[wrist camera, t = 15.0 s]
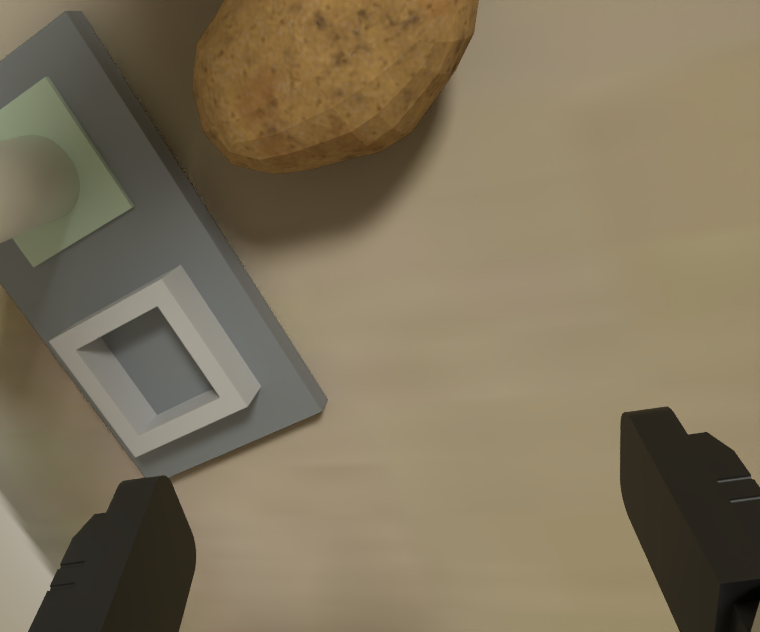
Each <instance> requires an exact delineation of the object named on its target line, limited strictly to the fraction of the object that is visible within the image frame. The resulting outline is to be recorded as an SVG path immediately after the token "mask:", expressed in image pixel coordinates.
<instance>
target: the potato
mask: <svg viewBox="0 0 760 632" xmlns="http://www.w3.org/2000/svg"><path fill="white" fill-rule="evenodd" d="M478 1H479V0H224V2H223V3H222V5H221V7H220V9H219V10H218V12H217V14H216V16H215V17H214V19H213V20H212V22H211V23H210V25H209V26H208V28H207V29H206V31H205V32H204V34H203V35H202V37H201V38H200V40H199V41H198V43H197V44H196V54H195V64H194V75H193V85H192V87H193V94H194V97H195V101H196V105H197V109H198V113H199V116H200V120H201V124H202V128H203V132H204V133H205V134H206V136H207V137H208V138H209V139H210V140H211V141H212V142H213V143H214V145H215V146H216V147H217V148H218V149H219V150H220V151H221V153H222V154H223V155H224V156H225V157H226V158H227V159H228V160H229V162H230V163H232V164H234V165H237V166H241V167H245V168H250V169H254V170H258V171H263V172H267V173H272V174H282V173H289V172H297V171H304V170H311V169H315V168H319V167H322V166H326V165H330V164H333V163H337V162H341V161H344V160H348V159H352V158H355V157H359V156H363V155H368V154H372V153H377V152H380V151H382V150H384V149H386V148H387V147H389V146H390V145H392V144H393V143H395V142H397V141H398V140H400V139H401V138H403V137H404V136H406V135H407V134H409V133H411V132H412V131H413V129H414V128H415V127H416V125H417V124H418V122H419V121H420V120H421V118H422V117H423V115H424V114H425V113H426V111H427V110H428V108H429V107H430V106H431V104H432V103H433V102H434V100H435V99H436V97H437V96H438V94H439V93H440V92H441V90H442V89H443V87H444V86H445V85H446V83H447V82H448V80H449V79H450V77H451V76H452V75H453V73H454V72H455V70H456V68H457V66H458V64H459V62H460V60H461V58H462V56H463V54H464V52H465V50H466V48H467V46H468V44H469V42H470V40H471V38H472V36H473V34H474V30H475V22H476V15H477V8H478Z"/></svg>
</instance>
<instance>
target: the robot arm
mask: <svg viewBox="0 0 760 632" xmlns="http://www.w3.org/2000/svg"><path fill="white" fill-rule="evenodd" d="M620 484H621V492H622V497H623V501H624V505H625V508H626V511H627V514H628V517H629V519H630V521H631V524H632V526H633V528H634V530H635V532H636V535H637V537H638V539H639V541H640V544H641V546H642V548H643V550H644V553H645V555H646V557H647V559H648V562H649V564H650V566H651V568H652V571H653V573H654V575H655V577H656V579H657V582H658V584H659V586H660V588H661V591H662V593H663V595H664V597H665V600H666V602H667V604H668V606H669V609H670V611H671V613H672V615H673V618H674V620H675V622H676V624H677V626H678V629H679V631H680V632H760V487H759V486H758V484H757V483H756V481H755V480H754V479H753V480H752V479H751V474H750V473H749V471H748V470H747V469H746V467H745V466H744V464H743V463H742V462H741V460H740V459H739V457H738V456H737V454H736V453H735V452H734V451H733V450H732V449H731V448H729V447H728V446H726V445H725V444H723V443H722V442H720V441H719V440H718V439H716V438H715V437H713V436H712V435H710V434H709V433H707V432H704V433H697V434H690V435H688V434H687V433H686V431H685V429H684V428H683V426H682V425H681V423H680V422H679V420H678V418H677V417H676V415H675V414H674V412H673V411H672V410H671V409H670V408H669V407H660V408H653V409H645V410H638V411H631V412H624V413H623V414H622V416H621V434H620ZM60 565H61V568H60V569H58V570H57V572H56V574H55V576H54V578H53V581H52V583H51V585H50V587H51V589H50V591H47V593H46V595H45V597H44V600H43V602H42V604H41V606H40V608H39V610H38V612H37V615H36V616H35V618H34V620H33V623H32V625H31V627H30V629H29V631H28V632H179V629H180V625H181V621H182V617H183V613H184V610H185V606H186V602H187V598H188V594H189V591H190V587H191V583H192V579H193V575H194V571H195V565H196V548H195V541H194V537H193V534H192V531H191V529H190V526H189V524H188V521H187V519H186V517H185V514H184V512H183V509H182V507H181V504H180V502H179V499H178V497H177V495H176V492H175V490H174V487H173V485H172V483H171V481H170V479H169V478H168V477H167V476H165V475H161V476H154V477H147V478H140V479H133V480H125V481H122V482H121V483H120V484H119V486H118V487H117V489H116V492H115V494H114V496H113V499H112V501H111V503H110V505H109V508H108V510H107V512H106V513H100V514H94V516H93V517H92V518H91V519H90V520H89V521H88V522H87V523H86V524H85V525H84V526H83V528H82V529H81V530H80V531H79V532H78V533H77V534H76V535H75V536H74V537H73V539H72V541H71V543H70V545H69V547H68V549H67V551H66V553H65V555H64V557H63V560H62V562H61V564H60Z"/></svg>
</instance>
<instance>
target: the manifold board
mask: <svg viewBox="0 0 760 632" xmlns="http://www.w3.org/2000/svg"><path fill="white" fill-rule="evenodd" d="M24 135H39V136H43V137H45V138H48V139H50V140H52V141H53V142H55V143H56V144H58V145H59V146H60V147H61V148H62V149H63V150H64V151H65V152H66V153H67V154H68V155H69V157H70V158H71V160H72V161H73V163H74V165H75V167H76V170H77V173H78V177H79V183H80V191H79V196H78V200H77V202H76V204H75V206H74V207H73V209H72V210H71V211H70V212H69V213H67V214H66V215H64V216H62V217H60V218H58V219H55V220H53V221H51V222H48V223H46V224H44V225H41V226H39V227H37V228H35V229H32V230H30V231H28V232H25V233H23V234H21V235H18V236H16V237H14V238H12V239H9V240H7V241H5V242H2V243H0V284H1V285H2V286H3V288H4V289H5V290H6V292H7V293H8V294H9V296H10V297H11V298H12V300H13V301H14V302H15V304H16V305H17V306H18V308H19V309H20V310H21V312H22V313H23V314H24V316H25V317H26V318H27V320H28V321H29V322H30V324H31V325H32V326H33V328H34V329H35V330H36V332H37V333H38V334H39V336H40V337H41V338H42V340H43V341H44V343H45V344H46V345H47V347H48V348H49V349H50V351H51V352H52V353H53V355H54V356H55V357H56V359H57V360H58V361H59V363H60V364H61V365H62V367H63V368H64V369H65V371H66V372H67V373H68V375H69V376H70V377H71V379H72V380H73V381H74V383H75V384H76V385H77V387H78V388H79V389H80V391H81V392H82V393H83V395H84V396H85V397H86V399H87V400H88V401H89V403H90V404H91V405H92V407H93V408H94V409H95V411H96V412H97V413H98V415H99V416H100V417H101V419H102V420H103V422H104V423H105V424H106V426H107V427H108V428H109V430H110V431H111V432H112V434H113V435H114V436H115V438H116V439H117V440H118V442H119V443H120V444H121V446H122V447H123V448H124V450H125V451H126V452H127V454H128V455H129V456H130V458H131V459H132V460H133V462H134V463H135V464H136V466H137V467H138V468H139V470H140V471H141V472H142V474H143V475H144V476H145V478H147V477H154V476H161V475H165V476H167V477H168V478H169V477H171V476H173V475H176V474H178V473H180V472H183V471H185V470H187V469H190V468H192V467H194V466H197V465H199V464H201V463H204V462H206V461H208V460H211V459H213V458H215V457H217V456H220V455H222V454H224V453H227V452H229V451H231V450H234V449H236V448H238V447H241V446H243V445H245V444H248V443H250V442H252V441H255V440H257V439H259V438H262V437H264V436H266V435H268V434H271V433H273V432H275V431H278V430H280V429H282V428H285V427H287V426H289V425H292V424H294V423H296V422H299V421H301V420H303V419H306V418H308V417H310V416H313V415H315V414H317V413H320V412H322V410H323V408H324V406H325V404H326V402H327V400H328V399H327V398H326V396H325V394H324V393H323V391H322V390H321V388H320V387H319V385H318V383H317V382H316V380H315V379H314V377H313V375H312V374H311V372H310V371H309V369H308V368H307V366H306V364H305V363H304V361H303V360H302V358H301V357H300V355H299V353H298V352H297V350H296V349H295V347H294V346H293V344H292V342H291V341H290V339H289V338H288V336H287V335H286V333H285V331H284V330H283V328H282V327H281V325H280V323H279V322H278V320H277V319H276V317H275V316H274V314H273V312H272V311H271V309H270V308H269V306H268V305H267V303H266V301H265V300H264V298H263V297H262V295H261V294H260V292H259V290H258V289H257V287H256V286H255V284H254V282H253V281H252V279H251V278H250V276H249V275H248V273H247V271H246V270H245V268H244V267H243V265H242V264H241V262H240V260H239V259H238V257H237V256H236V254H235V253H234V251H233V249H232V248H231V246H230V245H229V243H228V242H227V240H226V238H225V237H224V235H223V234H222V232H221V230H220V229H219V227H218V226H217V224H216V223H215V221H214V219H213V218H212V216H211V215H210V213H209V212H208V210H207V208H206V207H205V205H204V204H203V202H202V201H201V199H200V197H199V196H198V194H197V193H196V191H195V189H194V188H193V186H192V185H191V183H190V182H189V180H188V178H187V177H186V175H185V174H184V172H183V171H182V169H181V167H180V166H179V164H178V163H177V161H176V160H175V158H174V156H173V155H172V153H171V152H170V150H169V149H168V147H167V145H166V144H165V142H164V141H163V139H162V137H161V136H160V134H159V133H158V131H157V130H156V128H155V126H154V125H153V123H152V122H151V120H150V119H149V117H148V115H147V114H146V112H145V111H144V109H143V108H142V106H141V104H140V103H139V101H138V100H137V98H136V96H135V95H134V93H133V92H132V90H131V89H130V87H129V85H128V84H127V82H126V81H125V79H124V78H123V76H122V74H121V73H120V71H119V70H118V68H117V67H116V65H115V63H114V62H113V60H112V59H111V57H110V56H109V54H108V52H107V51H106V49H105V48H104V46H103V44H102V43H101V41H100V40H99V38H98V37H97V35H96V33H95V32H94V30H93V29H92V27H91V26H90V24H89V22H88V21H87V19H86V18H85V16H84V15H83V13H82V12H78V11H65V12H64V13H63V14H61V15H60V16H59V17H57V18H56V19H55V20H53V21H52V22H51V23H49V24H48V25H47V26H46V27H44V28H43V29H42V30H40V31H39V32H38V33H36V34H35V35H34V36H32V37H31V38H30V39H28V40H27V41H26V42H25V43H23V44H22V45H21V46H19V47H18V48H17V49H15V50H14V51H13V52H11V53H10V54H9V55H8V56H6V57H5V58H4V59H2V60H1V61H0V141H2V140H6V139H11V138H15V137H19V136H24Z"/></svg>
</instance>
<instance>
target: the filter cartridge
mask: <svg viewBox="0 0 760 632" xmlns="http://www.w3.org/2000/svg"><path fill="white" fill-rule="evenodd" d="M79 191H80V183H79V177H78V173H77V170H76V167H75V165H74V163H73V161H72V160H71V158H70V157H69V155H68V154H67V153H66V152H65V151H64V150H63V149H62V148H61V147H60V146H59V145H58V144H56V143H55V142H53V141H52V140H50V139H48V138H45V137H43V136H39V135H24V136H19V137H15V138H11V139H6V140H2V141H0V243H2V242H5V241H7V240H9V239H12V238H14V237H16V236H18V235H21V234H23V233H25V232H28V231H30V230H32V229H35V228H37V227H39V226H41V225H44V224H46V223H48V222H51V221H53V220H55V219H58V218H60V217H62V216H64V215H66V214H67V213H69V212H70V211H71V210H72V209H73V207H74V206H75V204H76V202H77V200H78V196H79Z"/></svg>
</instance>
